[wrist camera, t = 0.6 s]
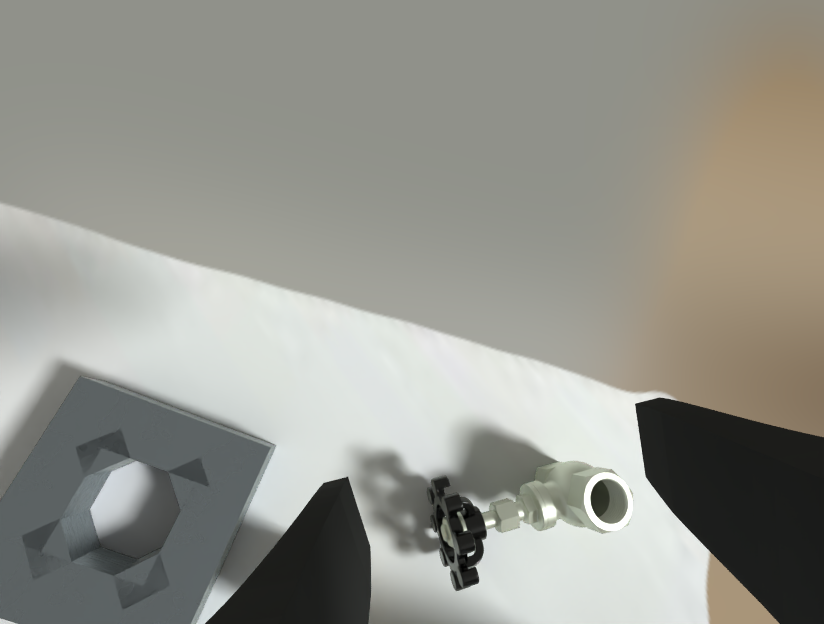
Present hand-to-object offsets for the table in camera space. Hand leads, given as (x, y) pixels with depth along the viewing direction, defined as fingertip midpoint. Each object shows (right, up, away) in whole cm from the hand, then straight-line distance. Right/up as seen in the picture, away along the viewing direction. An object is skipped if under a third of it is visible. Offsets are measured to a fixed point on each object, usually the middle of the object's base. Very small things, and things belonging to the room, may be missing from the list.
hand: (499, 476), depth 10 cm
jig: (-19, -8, +16) cm, 26 cm away
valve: (+5, -10, +21) cm, 24 cm away
